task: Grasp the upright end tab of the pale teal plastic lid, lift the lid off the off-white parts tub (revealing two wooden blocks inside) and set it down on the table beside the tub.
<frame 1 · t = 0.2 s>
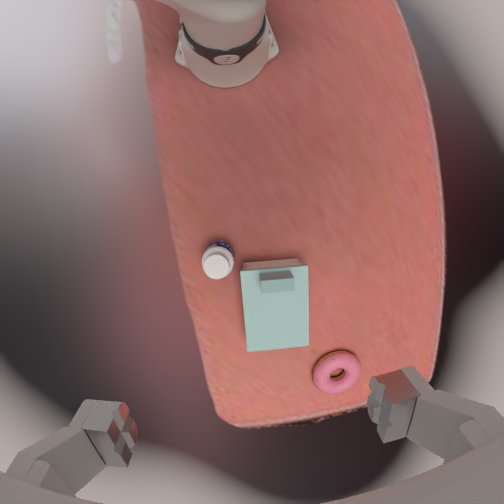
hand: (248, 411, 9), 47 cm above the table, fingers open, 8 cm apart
pill bottle: (219, 253, 56), on the table
tub: (272, 296, 58), on the table
lid: (275, 308, 53), point 6 cm above the table, touching tub
doughnut: (334, 367, 64), on the table
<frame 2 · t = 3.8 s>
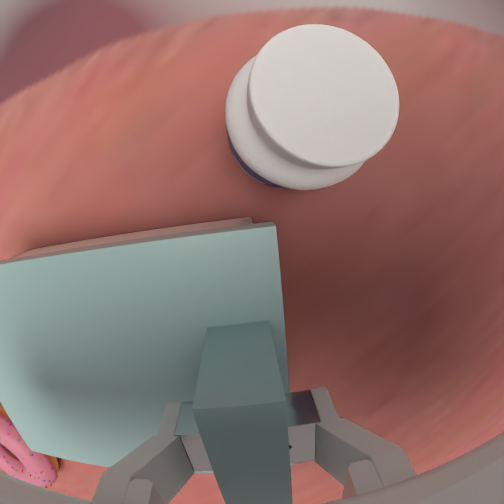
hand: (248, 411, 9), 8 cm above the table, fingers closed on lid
pill bottle: (280, 137, 15), on the table
tub: (141, 317, 17), on the table
lid: (105, 375, 11), point 6 cm above the table, touching gripper, tub
doughnut: (20, 434, 20), on the table
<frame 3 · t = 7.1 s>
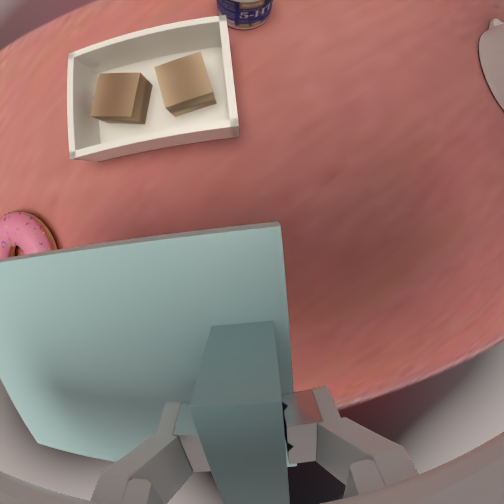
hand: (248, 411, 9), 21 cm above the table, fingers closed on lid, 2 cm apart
pill bottle: (244, 11, 24), on the table
tub: (160, 98, 26), on the table
lid: (112, 370, 12), point 19 cm above the table, touching gripper
block a: (190, 91, 25), point 1 cm above the table, touching tub
block b: (129, 103, 25), point 1 cm above the table, touching tub
doughnut: (31, 255, 29), on the table
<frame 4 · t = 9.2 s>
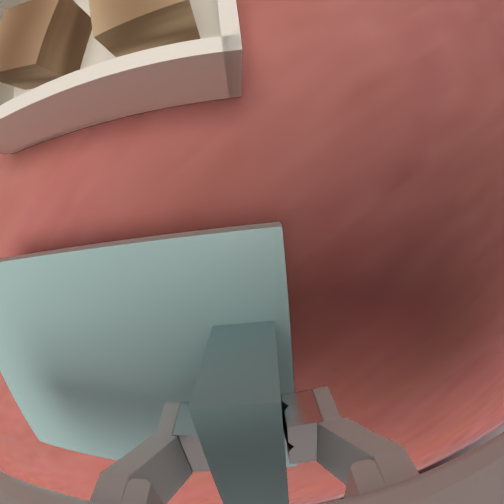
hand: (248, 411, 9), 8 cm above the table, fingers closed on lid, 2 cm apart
tub: (106, 41, 13), on the table
lid: (114, 369, 12), point 5 cm above the table, touching gripper
block a: (154, 22, 12), point 1 cm above the table, touching tub
block b: (57, 54, 12), point 1 cm above the table, touching tub
when the fingers open (5 cm above the table, at t = 10.6 s): lid drops 2 cm, on the table.
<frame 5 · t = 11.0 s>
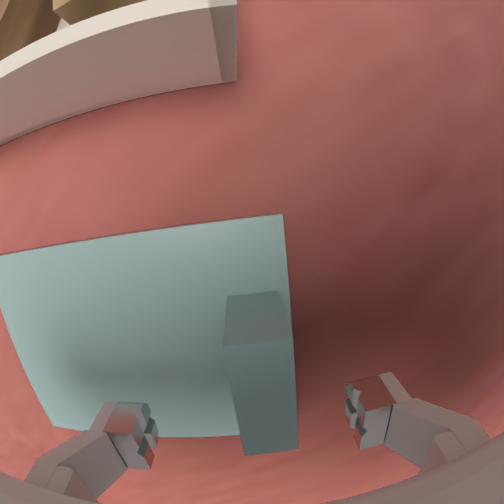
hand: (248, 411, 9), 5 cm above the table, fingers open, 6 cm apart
tub: (79, 23, 10), on the table
lid: (134, 345, 14), on the table
block b: (25, 42, 9), point 1 cm above the table, touching tub
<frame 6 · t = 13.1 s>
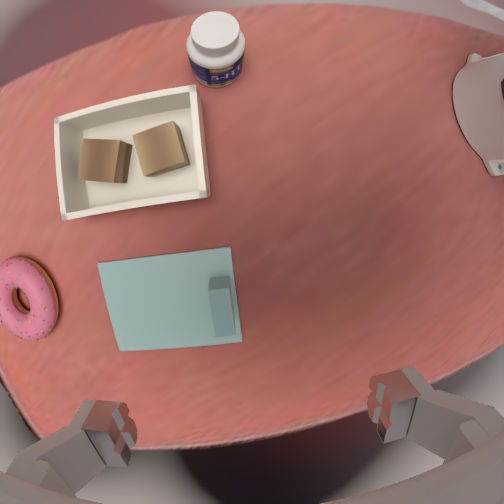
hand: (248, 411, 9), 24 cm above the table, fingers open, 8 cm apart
pill bottle: (217, 67, 29), on the table
tub: (140, 157, 30), on the table
lid: (170, 301, 34), on the table
block a: (166, 152, 29), point 1 cm above the table, touching tub
block b: (112, 162, 29), point 1 cm above the table, touching tub
doughnut: (31, 294, 32), on the table
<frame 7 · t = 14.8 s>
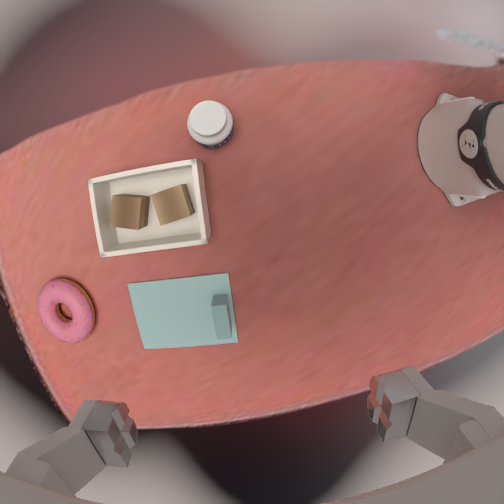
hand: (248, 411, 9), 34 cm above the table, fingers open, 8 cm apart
pill bottle: (213, 130, 39), on the table
tub: (156, 205, 41), on the table
lid: (183, 311, 45), on the table
block a: (176, 202, 40), point 1 cm above the table, touching tub
block b: (135, 209, 40), point 1 cm above the table, touching tub
doughnut: (71, 306, 44), on the table
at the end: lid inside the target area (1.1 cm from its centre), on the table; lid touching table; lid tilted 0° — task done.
